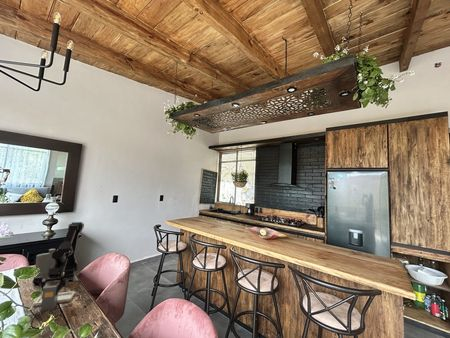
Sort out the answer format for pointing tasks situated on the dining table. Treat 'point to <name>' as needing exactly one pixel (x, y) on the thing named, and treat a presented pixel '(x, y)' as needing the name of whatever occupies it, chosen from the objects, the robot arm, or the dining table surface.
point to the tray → (61, 298)
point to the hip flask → (45, 263)
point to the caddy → (49, 295)
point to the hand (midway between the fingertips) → (49, 296)
